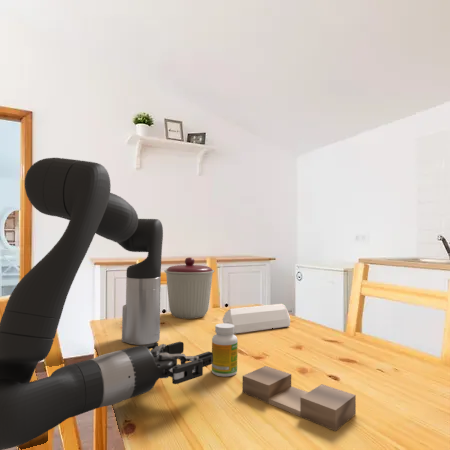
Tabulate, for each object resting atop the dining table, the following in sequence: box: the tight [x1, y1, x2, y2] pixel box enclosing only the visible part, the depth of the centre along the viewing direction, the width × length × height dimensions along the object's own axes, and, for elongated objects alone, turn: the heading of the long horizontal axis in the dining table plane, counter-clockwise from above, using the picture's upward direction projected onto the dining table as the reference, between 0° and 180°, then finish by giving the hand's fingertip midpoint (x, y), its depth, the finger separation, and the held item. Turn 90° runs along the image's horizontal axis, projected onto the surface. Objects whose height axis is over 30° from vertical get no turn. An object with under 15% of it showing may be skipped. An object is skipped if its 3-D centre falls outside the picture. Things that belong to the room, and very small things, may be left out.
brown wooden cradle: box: [241, 365, 357, 432], centre depth 59 cm, size 7×18×3 cm, turn 46°
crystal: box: [222, 303, 291, 335], centre depth 109 cm, size 7×7×24 cm
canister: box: [164, 257, 215, 320], centre depth 125 cm, size 18×18×21 cm
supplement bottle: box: [211, 322, 239, 378], centre depth 73 cm, size 5×5×10 cm
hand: (196, 351), depth 67 cm, fingers open, 8 cm apart
